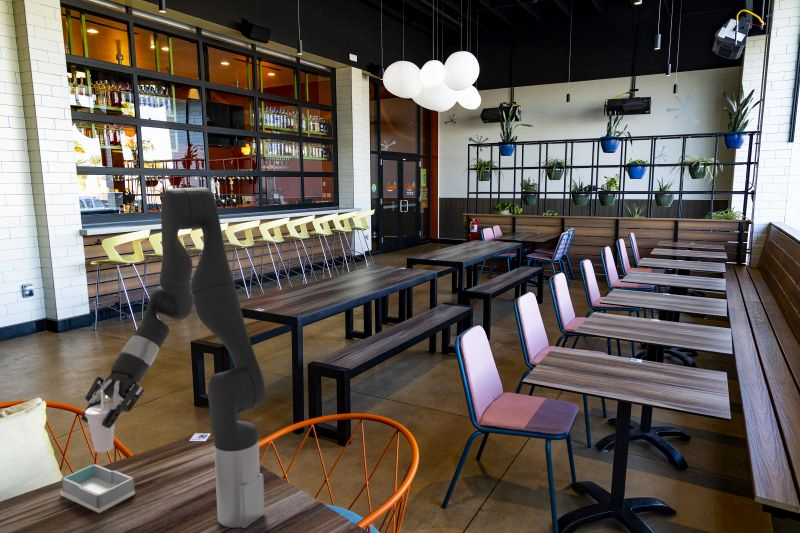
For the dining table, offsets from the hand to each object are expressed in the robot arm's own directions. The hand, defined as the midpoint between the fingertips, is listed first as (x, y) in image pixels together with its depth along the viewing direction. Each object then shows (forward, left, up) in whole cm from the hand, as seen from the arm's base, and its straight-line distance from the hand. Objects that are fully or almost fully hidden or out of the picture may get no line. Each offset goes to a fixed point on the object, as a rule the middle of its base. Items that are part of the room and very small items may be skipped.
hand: (95, 423), depth 121 cm
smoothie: (0, -2, -7) cm, 7 cm away
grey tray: (+4, -2, -19) cm, 19 cm away
